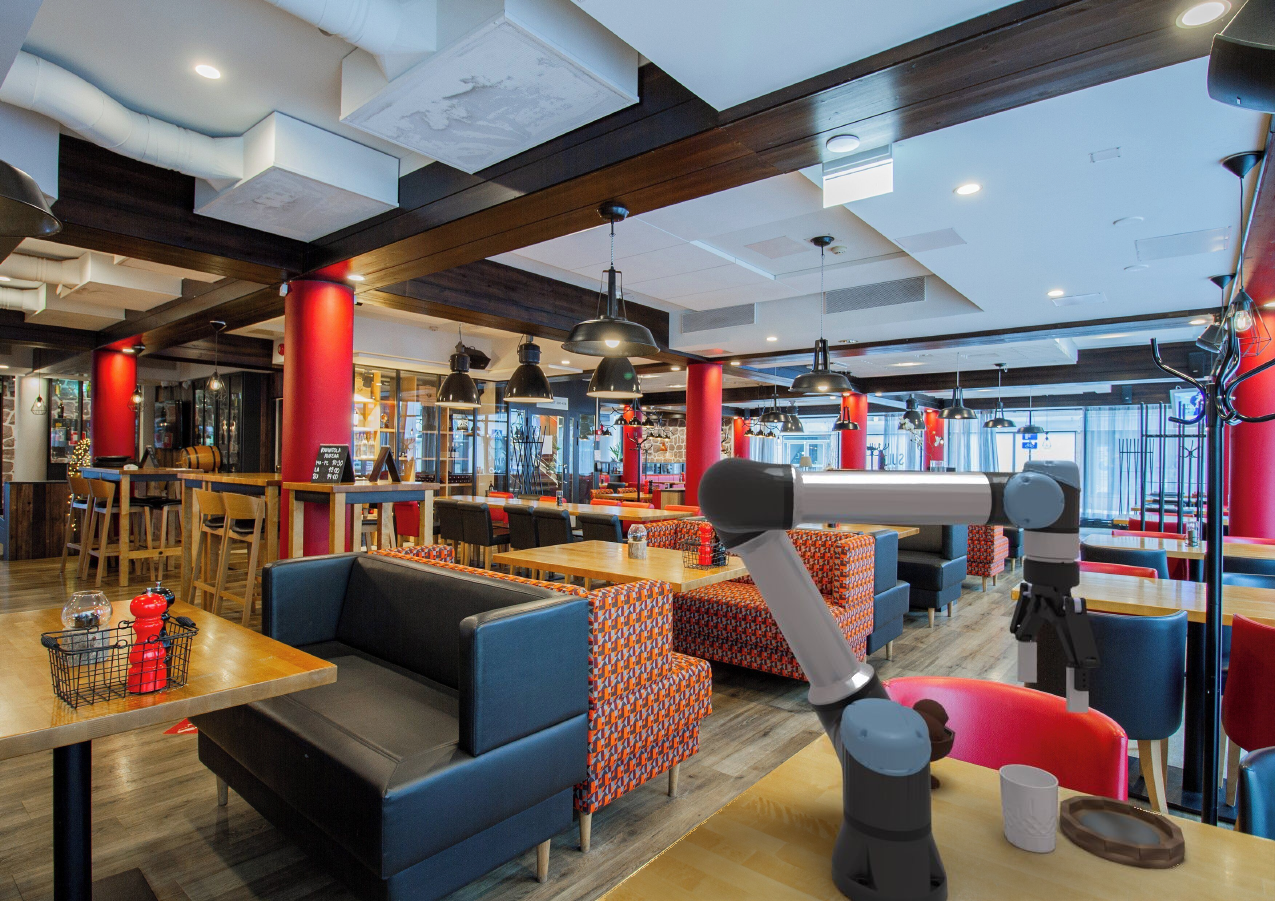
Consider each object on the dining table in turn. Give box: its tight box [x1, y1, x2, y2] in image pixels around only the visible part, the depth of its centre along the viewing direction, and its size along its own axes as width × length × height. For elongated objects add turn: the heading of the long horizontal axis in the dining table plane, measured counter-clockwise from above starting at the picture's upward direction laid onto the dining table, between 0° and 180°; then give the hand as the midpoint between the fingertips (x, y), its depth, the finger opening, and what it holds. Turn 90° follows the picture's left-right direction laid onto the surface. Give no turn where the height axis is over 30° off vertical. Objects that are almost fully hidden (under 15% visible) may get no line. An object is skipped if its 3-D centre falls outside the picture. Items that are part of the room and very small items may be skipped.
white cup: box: [998, 764, 1059, 854], centre depth 103 cm, size 8×8×10 cm
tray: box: [1059, 795, 1186, 870], centre depth 104 cm, size 16×16×3 cm
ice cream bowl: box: [912, 698, 956, 791], centre depth 123 cm, size 11×11×15 cm
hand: (1050, 695), depth 104 cm, fingers open, 13 cm apart
